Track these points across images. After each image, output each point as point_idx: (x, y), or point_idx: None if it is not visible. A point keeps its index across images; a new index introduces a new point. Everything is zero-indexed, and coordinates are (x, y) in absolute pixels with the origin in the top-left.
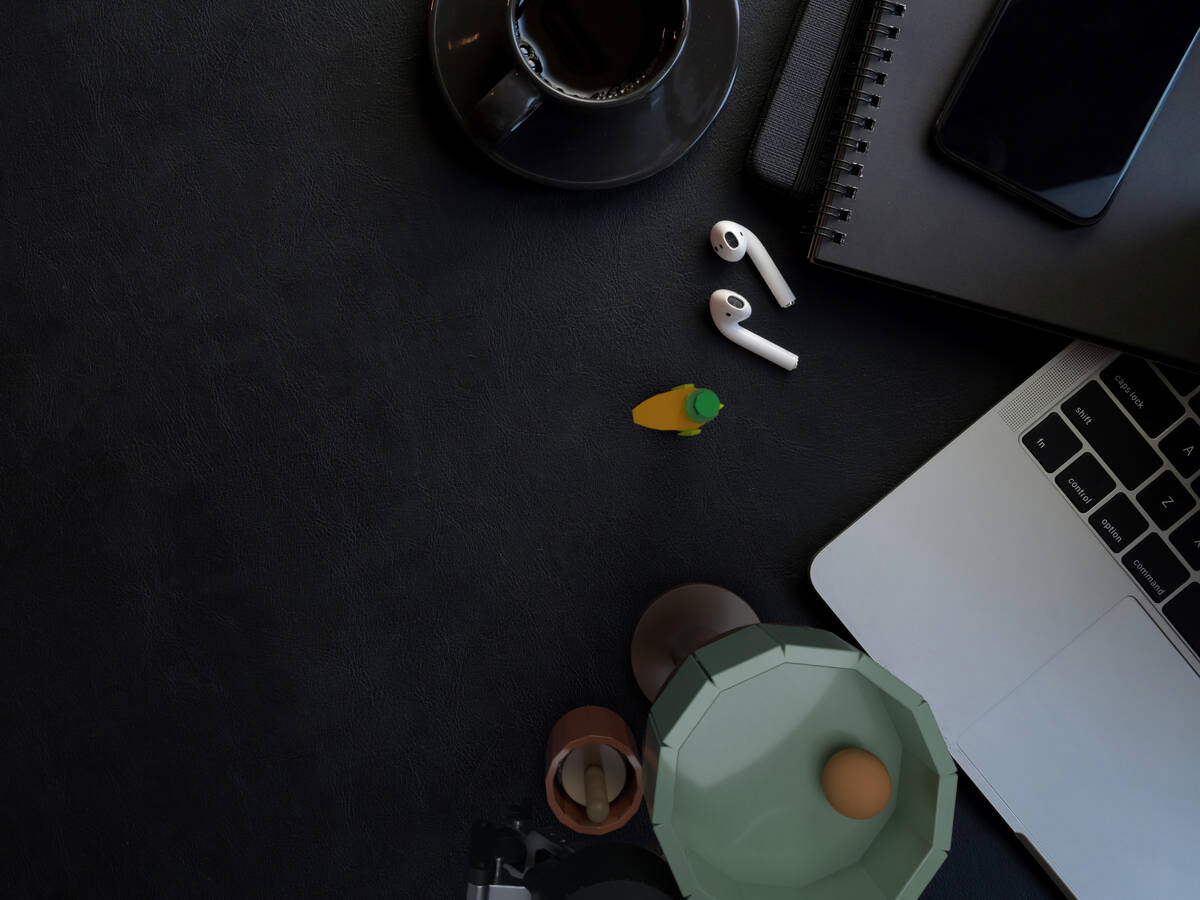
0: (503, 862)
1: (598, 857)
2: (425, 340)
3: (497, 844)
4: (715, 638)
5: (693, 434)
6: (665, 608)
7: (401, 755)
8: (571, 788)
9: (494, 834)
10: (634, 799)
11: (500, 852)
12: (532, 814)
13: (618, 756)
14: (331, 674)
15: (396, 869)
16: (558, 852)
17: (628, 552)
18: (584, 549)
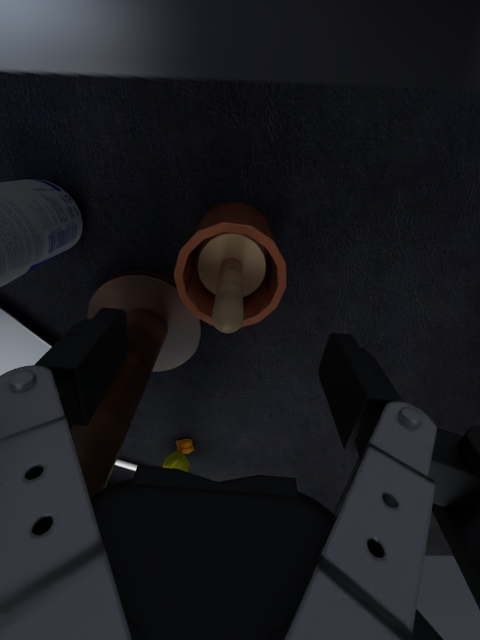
0: (438, 462)
1: None
2: (324, 471)
3: (440, 495)
4: None
5: (167, 466)
6: (176, 358)
7: (405, 243)
8: (255, 254)
9: (451, 549)
10: (184, 264)
11: (438, 480)
12: (336, 425)
13: (206, 284)
14: (441, 309)
15: (448, 118)
16: None
17: (207, 380)
18: (237, 382)
